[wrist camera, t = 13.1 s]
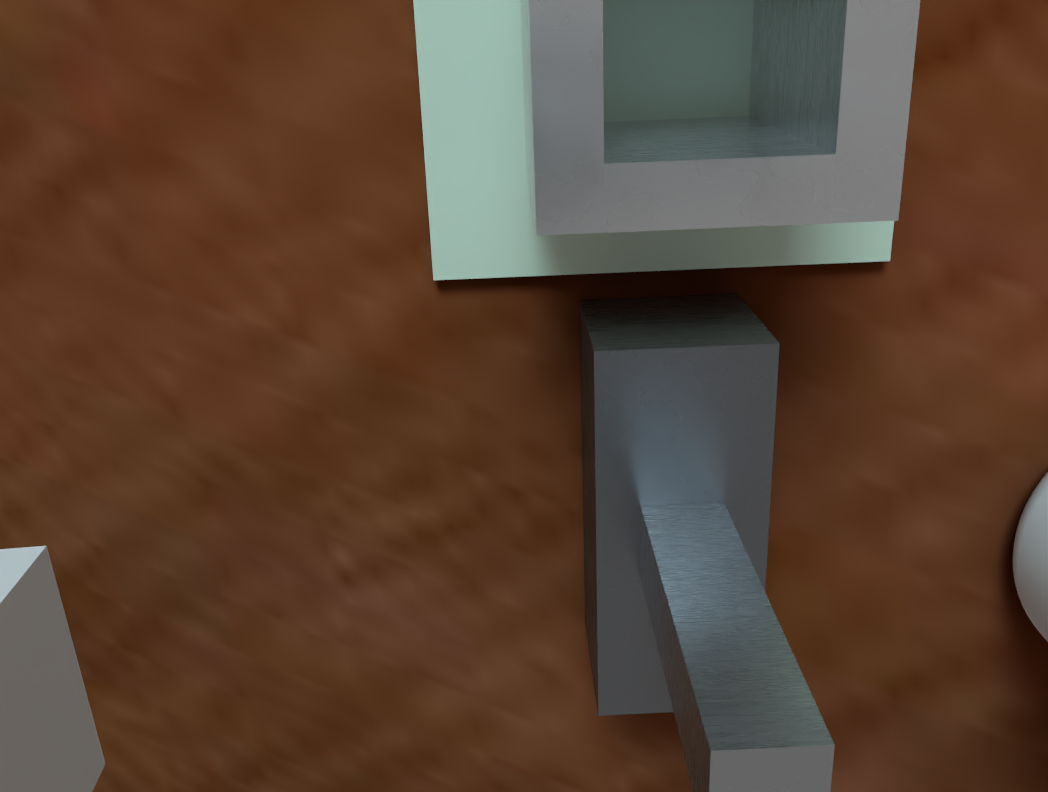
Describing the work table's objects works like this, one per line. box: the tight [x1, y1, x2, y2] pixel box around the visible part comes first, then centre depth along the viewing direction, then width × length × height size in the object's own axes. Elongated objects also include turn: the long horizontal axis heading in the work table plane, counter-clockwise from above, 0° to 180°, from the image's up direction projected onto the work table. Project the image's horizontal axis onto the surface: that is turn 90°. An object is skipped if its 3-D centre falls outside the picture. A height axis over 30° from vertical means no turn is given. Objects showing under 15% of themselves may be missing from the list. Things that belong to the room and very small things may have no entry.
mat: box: [413, 0, 894, 280], centre depth 28 cm, size 14×14×1 cm
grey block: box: [580, 294, 835, 792], centre depth 27 cm, size 5×12×15 cm, turn 2°
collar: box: [520, 0, 920, 236], centre depth 24 cm, size 8×8×8 cm
